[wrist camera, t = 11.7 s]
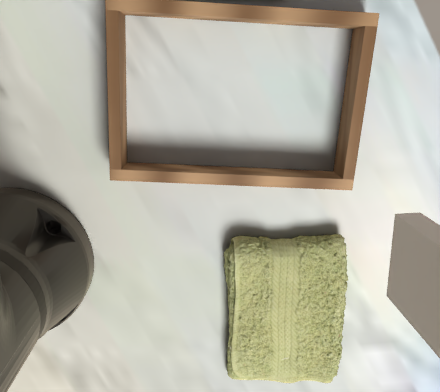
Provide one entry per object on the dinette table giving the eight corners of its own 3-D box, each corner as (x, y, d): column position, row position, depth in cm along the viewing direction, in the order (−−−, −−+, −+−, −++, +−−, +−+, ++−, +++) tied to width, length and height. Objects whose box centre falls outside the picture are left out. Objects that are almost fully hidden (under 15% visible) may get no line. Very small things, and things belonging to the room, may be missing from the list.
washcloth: (225, 373, 48) (226, 394, 45) (222, 231, 43) (223, 244, 40) (337, 368, 49) (346, 389, 46) (348, 227, 43) (359, 239, 40)
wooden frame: (116, 171, 40) (110, 180, 37) (113, 1, 36) (105, -5, 33) (341, 181, 41) (352, 190, 38) (365, 17, 37) (379, 13, 34)
